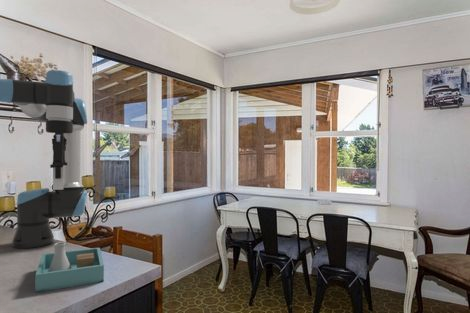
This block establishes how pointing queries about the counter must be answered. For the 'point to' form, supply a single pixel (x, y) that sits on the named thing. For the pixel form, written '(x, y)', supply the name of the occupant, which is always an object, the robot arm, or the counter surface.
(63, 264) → the flask
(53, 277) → the tote
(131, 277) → the counter surface
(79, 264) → the walnut cube
